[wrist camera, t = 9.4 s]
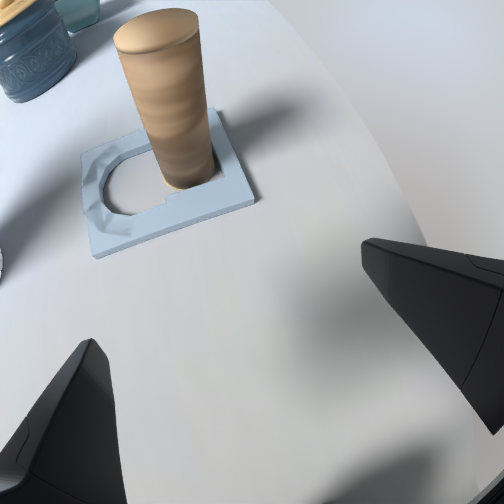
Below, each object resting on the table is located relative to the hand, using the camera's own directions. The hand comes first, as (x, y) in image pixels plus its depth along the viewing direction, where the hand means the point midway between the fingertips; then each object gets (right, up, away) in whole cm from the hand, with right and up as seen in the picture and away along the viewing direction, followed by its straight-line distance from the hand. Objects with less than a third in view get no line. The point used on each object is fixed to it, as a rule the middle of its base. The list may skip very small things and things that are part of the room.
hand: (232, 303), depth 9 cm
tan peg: (-5, +9, +17) cm, 20 cm away
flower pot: (-30, +44, +27) cm, 59 cm away
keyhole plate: (-7, +8, +16) cm, 20 cm away
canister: (-32, +29, +22) cm, 48 cm away
